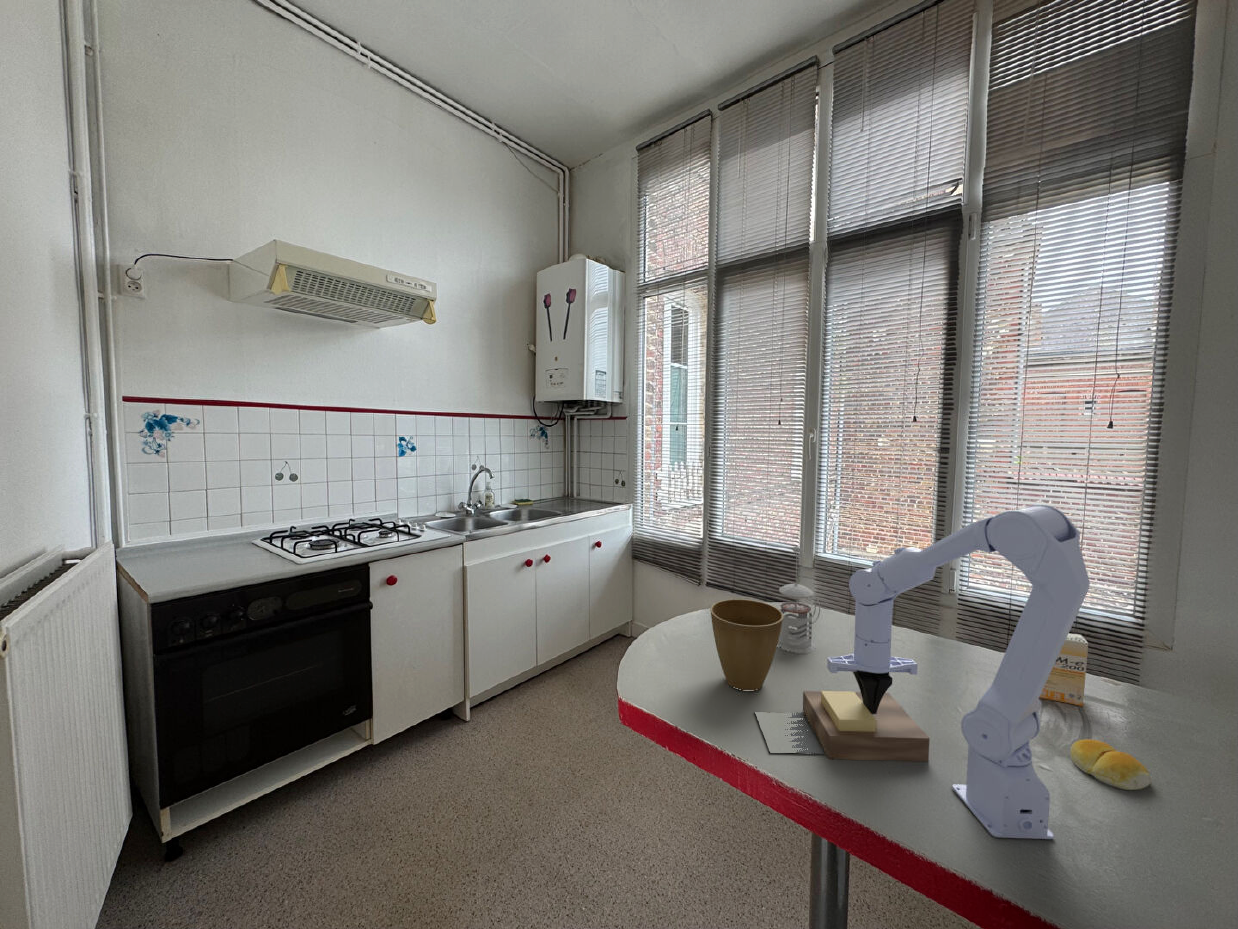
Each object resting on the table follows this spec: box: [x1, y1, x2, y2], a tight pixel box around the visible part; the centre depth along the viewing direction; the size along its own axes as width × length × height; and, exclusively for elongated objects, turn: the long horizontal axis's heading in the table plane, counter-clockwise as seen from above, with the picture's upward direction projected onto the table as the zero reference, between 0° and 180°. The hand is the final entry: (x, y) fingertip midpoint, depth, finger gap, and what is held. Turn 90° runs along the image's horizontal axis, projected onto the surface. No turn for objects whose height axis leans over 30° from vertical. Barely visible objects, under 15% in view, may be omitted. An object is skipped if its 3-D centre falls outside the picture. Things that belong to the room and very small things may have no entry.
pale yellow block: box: [820, 690, 876, 732], centre depth 89 cm, size 9×6×2 cm, turn 177°
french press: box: [778, 546, 821, 654], centre depth 126 cm, size 10×12×25 cm
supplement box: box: [1039, 632, 1089, 707], centre depth 101 cm, size 8×5×13 cm, turn 62°
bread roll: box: [1069, 738, 1152, 791], centre depth 80 cm, size 8×9×4 cm
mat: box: [785, 711, 825, 755], centre depth 91 cm, size 12×9×1 cm
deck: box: [802, 690, 930, 762], centre depth 90 cm, size 14×16×4 cm
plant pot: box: [710, 598, 784, 690], centre depth 107 cm, size 15×15×16 cm
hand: (870, 711), depth 89 cm, fingers closed
